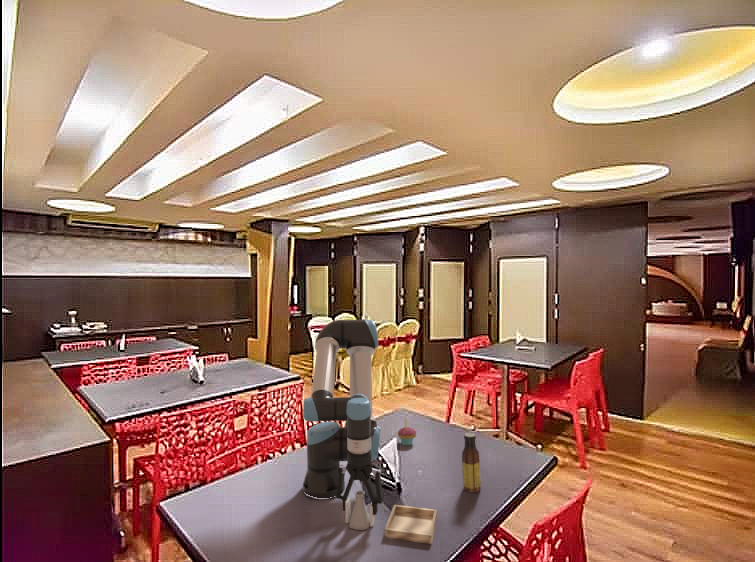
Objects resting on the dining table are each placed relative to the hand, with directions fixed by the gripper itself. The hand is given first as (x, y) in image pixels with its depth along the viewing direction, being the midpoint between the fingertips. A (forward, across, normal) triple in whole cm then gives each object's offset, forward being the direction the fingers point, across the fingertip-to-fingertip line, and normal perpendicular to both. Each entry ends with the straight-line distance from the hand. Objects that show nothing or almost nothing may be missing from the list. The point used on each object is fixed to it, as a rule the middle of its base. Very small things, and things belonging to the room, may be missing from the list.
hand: (360, 522), depth 136 cm
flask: (+1, 0, 0) cm, 1 cm away
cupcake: (+1, +3, +66) cm, 66 cm away
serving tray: (+1, +16, +2) cm, 16 cm away
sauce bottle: (+1, +33, +30) cm, 45 cm away
